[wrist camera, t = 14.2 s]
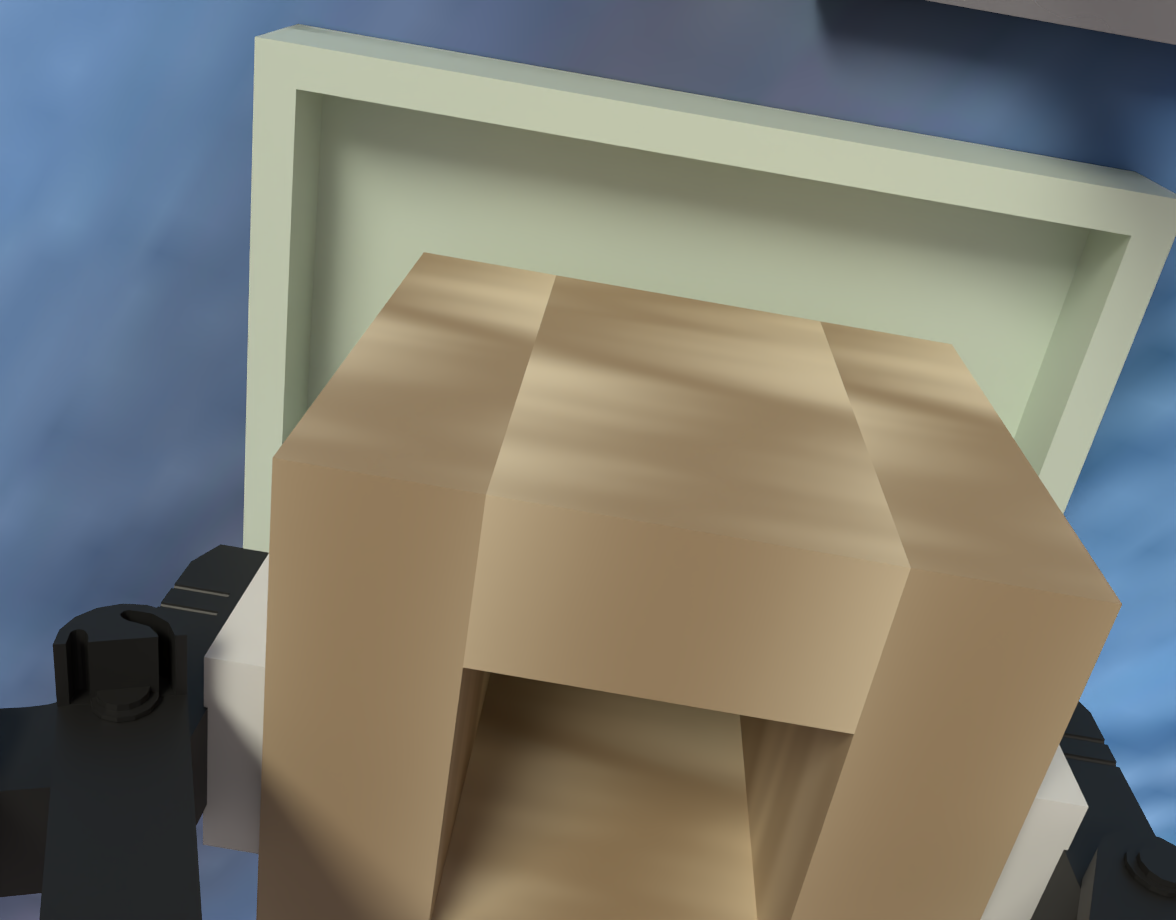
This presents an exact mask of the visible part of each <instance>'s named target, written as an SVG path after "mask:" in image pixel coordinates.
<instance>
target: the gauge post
mask: <svg viewBox="0 0 1176 920" xmlns="http://www.w3.org/2000/svg"><path fill="white" fill-rule="evenodd" d="M927 1H933V2H939V3H944V4H950V5H955V6H961V7H967V8H972V9H978V10H984V11H989V12H995V13H1000V14H1006V15H1012V16H1017V17H1023V18H1028V19H1034V20H1040V21H1045V22H1051V23H1057V24H1062V25H1068V26H1073V27H1079V28H1085V29H1090V30H1096V31H1101V32H1107V33H1113V34H1118V35H1124V36H1130V37H1135V38H1141V39H1146V40H1152V41H1158V42H1163V43H1169V44H1174V45H1176V0H927Z"/></svg>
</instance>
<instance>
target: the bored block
mask: <svg viewBox="0 0 1176 920" xmlns="http://www.w3.org/2000/svg"><path fill="white" fill-rule="evenodd" d="M1121 606H1122V603H1121V602H1120V600H1119V599H1118V597H1117V596H1116V594H1115V593H1114V591H1113V590H1112V588H1111V587H1110V585H1109V584H1108V582H1107V580H1106V579H1105V577H1104V576H1103V574H1102V573H1101V571H1100V570H1099V568H1098V567H1097V565H1096V564H1095V562H1094V561H1093V559H1092V558H1091V556H1090V555H1089V553H1088V551H1087V550H1086V548H1085V547H1084V545H1083V544H1082V542H1081V541H1080V539H1079V538H1078V536H1077V535H1076V533H1075V532H1074V530H1073V529H1072V527H1071V526H1070V524H1069V522H1068V521H1067V519H1066V518H1065V516H1064V515H1063V513H1062V512H1061V510H1060V509H1059V507H1058V506H1057V504H1056V503H1055V501H1054V500H1053V498H1052V497H1051V495H1050V493H1049V492H1048V490H1047V489H1046V487H1045V486H1044V484H1043V483H1042V481H1041V480H1040V478H1039V477H1038V475H1037V474H1036V472H1035V471H1034V469H1033V468H1032V466H1031V464H1030V463H1029V461H1028V460H1027V458H1026V457H1025V455H1024V454H1023V452H1022V451H1021V449H1020V448H1019V446H1018V445H1017V443H1016V442H1015V440H1014V439H1013V437H1012V435H1011V434H1010V432H1009V431H1008V429H1007V428H1006V426H1005V425H1004V423H1003V422H1002V420H1001V419H1000V417H999V416H998V414H997V413H996V411H995V410H994V408H993V406H992V405H991V403H990V402H989V400H988V399H987V397H986V396H985V394H984V393H983V391H982V390H981V388H980V387H979V385H978V384H977V382H976V381H975V379H974V377H973V376H972V374H971V373H970V371H969V370H968V368H967V367H966V365H965V364H964V362H963V361H962V359H961V358H960V356H959V355H958V353H957V351H956V350H955V348H954V347H953V345H952V344H948V343H942V342H936V341H930V340H925V339H919V338H913V337H907V336H902V335H896V334H890V333H884V332H879V331H873V330H867V329H862V328H856V327H850V326H844V325H839V324H833V323H827V322H821V321H816V320H810V319H804V318H798V317H793V316H787V315H781V314H776V313H770V312H764V311H758V310H753V309H747V308H741V307H735V306H730V305H724V304H718V303H712V302H707V301H701V300H695V299H690V298H684V297H678V296H672V295H667V294H661V293H655V292H649V291H644V290H638V289H632V288H626V287H621V286H615V285H609V284H604V283H598V282H592V281H586V280H581V279H575V278H569V277H563V276H558V275H552V274H546V273H540V272H535V271H529V270H523V269H518V268H512V267H506V266H500V265H495V264H489V263H483V262H477V261H472V260H466V259H460V258H454V257H449V256H443V255H437V254H432V253H426V252H424V253H423V254H422V255H421V257H420V258H419V259H418V261H417V262H416V263H415V265H414V266H413V268H412V269H411V270H410V272H409V273H408V274H407V276H406V277H405V278H404V280H403V281H402V282H401V284H400V285H399V287H398V288H397V289H396V291H395V292H394V293H393V295H392V296H391V297H390V299H389V300H388V302H387V303H386V304H385V306H384V307H383V308H382V310H381V311H380V312H379V314H378V315H377V316H376V318H375V319H374V321H373V322H372V323H371V325H370V326H369V327H368V329H367V330H366V331H365V333H364V334H363V335H362V337H361V338H360V340H359V341H358V342H357V344H356V345H355V346H354V348H353V349H352V350H351V352H350V353H349V354H348V356H347V357H346V359H345V360H344V361H343V363H342V364H341V365H340V367H339V368H338V369H337V371H336V372H335V373H334V375H333V376H332V378H331V379H330V380H329V382H328V383H327V384H326V386H325V387H324V388H323V390H322V391H321V393H320V394H319V395H318V397H317V398H316V399H315V401H314V402H313V403H312V405H311V406H310V407H309V409H308V410H307V412H306V413H305V414H304V416H303V417H302V418H301V420H300V421H299V422H298V424H297V425H296V426H295V428H294V429H293V431H292V432H291V433H290V435H289V436H288V437H287V439H286V440H285V441H284V443H283V444H282V445H281V447H280V448H279V450H278V451H277V452H276V454H275V455H274V456H273V458H272V485H271V514H270V543H269V572H268V601H267V629H266V658H265V687H264V716H263V745H262V774H261V803H260V832H259V861H258V890H257V919H256V920H980V919H981V917H982V915H983V913H984V910H985V908H986V906H987V904H988V902H989V899H990V897H991V895H992V893H993V890H994V888H995V886H996V884H997V882H998V879H999V877H1000V875H1001V873H1002V870H1003V868H1004V866H1005V864H1006V861H1007V859H1008V857H1009V855H1010V853H1011V850H1012V848H1013V846H1014V844H1015V841H1016V839H1017V837H1018V835H1019V833H1020V830H1021V828H1022V826H1023V824H1024V821H1025V819H1026V817H1027V815H1028V813H1029V810H1030V808H1031V806H1032V804H1033V801H1034V799H1035V797H1036V795H1037V792H1038V790H1039V788H1040V786H1041V784H1042V781H1043V779H1044V777H1045V775H1046V772H1047V770H1048V768H1049V766H1050V764H1051V761H1052V759H1053V757H1054V755H1055V752H1056V750H1057V748H1058V746H1059V744H1060V741H1061V739H1062V737H1063V735H1064V732H1065V730H1066V728H1067V726H1068V723H1069V721H1070V719H1071V717H1072V715H1073V712H1074V710H1075V708H1076V706H1077V703H1078V701H1079V699H1080V697H1081V695H1082V692H1083V690H1084V688H1085V686H1086V683H1087V681H1088V679H1089V677H1090V675H1091V672H1092V670H1093V668H1094V666H1095V663H1096V661H1097V659H1098V657H1099V654H1100V652H1101V650H1102V648H1103V646H1104V643H1105V641H1106V639H1107V637H1108V634H1109V632H1110V630H1111V628H1112V626H1113V623H1114V621H1115V619H1116V617H1117V614H1118V612H1119V610H1120V608H1121Z"/></svg>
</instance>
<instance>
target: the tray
mask: <svg viewBox="0 0 1176 920" xmlns="http://www.w3.org/2000/svg"><path fill="white" fill-rule="evenodd" d="M1175 236H1176V194H1175V193H1173V192H1171V191H1170V190H1168V189H1166V188H1164V187H1162V186H1160V185H1159V184H1157V183H1155V182H1153V181H1151V180H1149V179H1148V178H1146V177H1144V176H1142V175H1140V174H1138V173H1137V172H1133V171H1128V170H1122V169H1116V168H1111V167H1105V166H1099V165H1094V164H1088V163H1082V162H1077V161H1071V160H1065V159H1060V158H1054V157H1048V156H1043V155H1037V154H1031V153H1026V152H1020V151H1014V150H1009V149H1003V148H997V147H992V146H986V145H980V144H975V143H969V142H963V141H958V140H952V139H946V138H941V137H935V136H929V135H924V134H918V133H912V132H907V131H901V130H895V129H890V128H884V127H878V126H873V125H867V124H861V123H856V122H850V121H844V120H839V119H833V118H827V117H822V116H816V115H810V114H805V113H799V112H793V111H788V110H782V109H776V108H771V107H765V106H759V105H754V104H748V103H742V102H737V101H731V100H725V99H720V98H714V97H708V96H703V95H697V94H691V93H686V92H680V91H674V90H669V89H663V88H657V87H652V86H646V85H640V84H635V83H629V82H623V81H618V80H612V79H606V78H601V77H595V76H589V75H584V74H578V73H572V72H567V71H561V70H555V69H550V68H544V67H538V66H533V65H527V64H521V63H516V62H510V61H504V60H499V59H493V58H487V57H482V56H476V55H470V54H465V53H459V52H453V51H448V50H442V49H436V48H431V47H425V46H419V45H414V44H408V43H402V42H397V41H391V40H385V39H380V38H374V37H368V36H363V35H357V34H351V33H346V32H340V31H334V30H329V29H323V28H317V27H312V26H306V25H300V24H297V25H293V26H290V27H286V28H283V29H280V30H276V31H273V32H269V33H266V34H263V35H259V36H256V37H255V59H254V102H253V145H252V188H251V231H250V274H249V317H248V360H247V403H246V447H245V490H244V533H243V548H244V549H250V550H256V551H262V552H268V553H269V543H270V514H271V485H272V458H273V456H274V455H275V454H276V452H277V451H278V450H279V448H280V447H281V445H282V444H283V443H284V441H285V440H286V439H287V437H288V436H289V435H290V433H291V432H292V431H293V429H294V428H295V426H296V425H297V424H298V422H299V421H300V420H301V418H302V417H303V416H304V414H305V413H306V412H307V410H308V409H309V407H310V406H311V405H312V403H313V402H314V401H315V399H316V398H317V397H318V395H319V394H320V393H321V391H322V390H323V388H324V387H325V386H326V384H327V383H328V382H329V380H330V379H331V378H332V376H333V375H334V373H335V372H336V371H337V369H338V368H339V367H340V365H341V364H342V363H343V361H344V360H345V359H346V357H347V356H348V354H349V353H350V352H351V350H352V349H353V348H354V346H355V345H356V344H357V342H358V341H359V340H360V338H361V337H362V335H363V334H364V333H365V331H366V330H367V329H368V327H369V326H370V325H371V323H372V322H373V321H374V319H375V318H376V316H377V315H378V314H379V312H380V311H381V310H382V308H383V307H384V306H385V304H386V303H387V302H388V300H389V299H390V297H391V296H392V295H393V293H394V292H395V291H396V289H397V288H398V287H399V285H400V284H401V282H402V281H403V280H404V278H405V277H406V276H407V274H408V273H409V272H410V270H411V269H412V268H413V266H414V265H415V263H416V262H417V261H418V259H419V258H420V257H421V255H422V254H423V253H424V252H426V253H432V254H437V255H443V256H449V257H454V258H460V259H466V260H472V261H477V262H483V263H489V264H495V265H500V266H506V267H512V268H518V269H523V270H529V271H535V272H540V273H546V274H552V275H558V276H563V277H569V278H575V279H581V280H586V281H592V282H598V283H604V284H609V285H615V286H621V287H626V288H632V289H638V290H644V291H649V292H655V293H661V294H667V295H672V296H678V297H684V298H690V299H695V300H701V301H707V302H712V303H718V304H724V305H730V306H735V307H741V308H747V309H753V310H758V311H764V312H770V313H776V314H781V315H787V316H793V317H798V318H804V319H810V320H816V321H821V322H827V323H833V324H839V325H844V326H850V327H856V328H862V329H867V330H873V331H879V332H884V333H890V334H896V335H902V336H907V337H913V338H919V339H925V340H930V341H936V342H942V343H948V344H952V345H953V347H954V348H955V350H956V351H957V353H958V355H959V356H960V358H961V359H962V361H963V362H964V364H965V365H966V367H967V368H968V370H969V371H970V373H971V374H972V376H973V377H974V379H975V381H976V382H977V384H978V385H979V387H980V388H981V390H982V391H983V393H984V394H985V396H986V397H987V399H988V400H989V402H990V403H991V405H992V406H993V408H994V410H995V411H996V413H997V414H998V416H999V417H1000V419H1001V420H1002V422H1003V423H1004V425H1005V426H1006V428H1007V429H1008V431H1009V432H1010V434H1011V435H1012V437H1013V439H1014V440H1015V442H1016V443H1017V445H1018V446H1019V448H1020V449H1021V451H1022V452H1023V454H1024V455H1025V457H1026V458H1027V460H1028V461H1029V463H1030V464H1031V466H1032V468H1033V469H1034V471H1035V472H1036V474H1037V475H1038V477H1039V478H1040V480H1041V481H1042V483H1043V484H1044V486H1045V487H1046V489H1047V490H1048V492H1049V493H1050V495H1051V497H1052V498H1053V500H1054V501H1055V503H1056V504H1057V506H1058V507H1059V509H1060V510H1061V512H1062V513H1063V514H1064V511H1065V509H1066V506H1067V504H1068V501H1069V499H1070V496H1071V494H1072V491H1073V489H1074V486H1075V484H1076V481H1077V479H1078V476H1079V474H1080V472H1081V469H1082V467H1083V464H1084V462H1085V459H1086V457H1087V454H1088V452H1089V449H1090V447H1091V444H1092V442H1093V439H1094V437H1095V434H1096V432H1097V429H1098V427H1099V424H1100V422H1101V420H1102V417H1103V415H1104V412H1105V410H1106V407H1107V405H1108V402H1109V400H1110V397H1111V395H1112V392H1113V390H1114V387H1115V385H1116V382H1117V380H1118V377H1119V375H1120V372H1121V370H1122V367H1123V365H1124V363H1125V360H1126V358H1127V355H1128V353H1129V350H1130V348H1131V345H1132V343H1133V340H1134V338H1135V335H1136V333H1137V330H1138V328H1139V325H1140V323H1141V320H1142V318H1143V315H1144V313H1145V311H1146V308H1147V306H1148V303H1149V301H1150V298H1151V296H1152V293H1153V291H1154V288H1155V286H1156V283H1157V281H1158V278H1159V276H1160V273H1161V271H1162V268H1163V266H1164V263H1165V261H1166V259H1167V256H1168V254H1169V251H1170V249H1171V246H1172V244H1173V241H1174V239H1175Z"/></svg>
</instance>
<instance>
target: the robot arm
mask: <svg viewBox="0 0 1176 920" xmlns="http://www.w3.org/2000/svg"><path fill="white" fill-rule="evenodd" d="M268 572H269V553H268V552H262V551H256V550H250V549H244V548H238V547H233V546H227V545H219V546H217V547H216V548H214V549H212V550H210V551H209V552H207V553H205V554H203V555H202V556H200V557H198V558H197V559H195V560H193V561H191V563H190V564H189V565H188V567H187V568H186V569H185V571H184V572H183V573H182V575H181V576H180V578H179V579H178V580H177V582H176V583H175V586H174V589H173V588H171V590H170V591H169V592H168V594H167V595H166V596H165V598H164V599H163V601H162V602H161V606H160V607H157V608H155V607H152V606H148V605H136V604H118V605H112V606H106V607H100V608H96V609H93V610H91V611H89V612H86V613H84V614H81V615H79V616H76V617H75V618H73V619H72V620H71V621H70V622H68V623H67V624H66V625H65V626H64V627H62V628H61V629H60V630H59V632H58V634H57V636H56V639H55V641H54V643H53V654H54V668H55V682H56V697H57V702H56V703H52V704H48V705H41V706H33V707H22V708H4V709H0V897H6V896H16V895H26V894H35V893H42V896H41V908H40V920H202V913H201V897H200V882H199V867H198V851H197V836H196V825H197V823H198V821H199V819H200V817H201V815H202V813H203V845H209V846H215V847H221V848H227V849H233V850H239V851H245V852H251V853H257V854H259V832H260V803H261V774H262V745H263V716H264V687H265V658H266V629H267V601H268ZM1104 740H1105V739H1104V738H1103V736H1102V734H1101V732H1100V730H1099V728H1098V726H1097V724H1096V722H1095V720H1094V719H1093V717H1092V715H1091V713H1090V712H1089V711H1088V710H1087V709H1086V708H1085V707H1084V706H1083V705H1082V704H1081V703H1080V702H1079V701H1078V703H1077V706H1076V708H1075V710H1074V712H1073V715H1072V717H1071V719H1070V721H1069V723H1068V726H1067V728H1066V730H1065V732H1064V735H1063V737H1062V739H1061V741H1060V744H1059V746H1058V748H1057V750H1056V752H1055V755H1054V757H1053V759H1052V761H1051V764H1050V766H1049V768H1048V770H1047V772H1046V775H1045V777H1044V779H1043V781H1042V784H1041V786H1040V788H1039V790H1038V792H1037V795H1036V797H1035V799H1034V801H1033V804H1032V806H1031V808H1030V810H1029V813H1028V815H1027V817H1026V819H1025V821H1024V824H1023V826H1022V828H1021V830H1020V833H1019V835H1018V837H1017V839H1016V841H1015V844H1014V846H1013V848H1012V850H1011V853H1010V855H1009V857H1008V859H1007V861H1006V864H1005V866H1004V868H1003V870H1002V873H1001V875H1000V877H999V879H998V882H997V884H996V886H995V888H994V890H993V893H992V895H991V897H990V899H989V902H988V904H987V906H986V908H985V910H984V913H983V915H982V917H981V919H980V920H1176V846H1175V845H1173V844H1171V843H1169V842H1167V841H1166V840H1164V839H1162V838H1159V837H1156V836H1155V834H1154V832H1153V830H1152V828H1151V827H1150V825H1149V823H1148V821H1147V819H1146V817H1145V815H1144V813H1143V811H1142V809H1141V808H1140V806H1139V804H1138V802H1137V800H1136V798H1135V796H1134V794H1133V792H1132V791H1131V789H1130V787H1129V785H1128V783H1127V781H1126V779H1125V777H1124V775H1123V774H1122V772H1121V770H1120V768H1119V767H1116V760H1115V758H1114V756H1113V755H1112V753H1111V751H1110V749H1109V747H1108V745H1105V744H1104Z"/></svg>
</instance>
